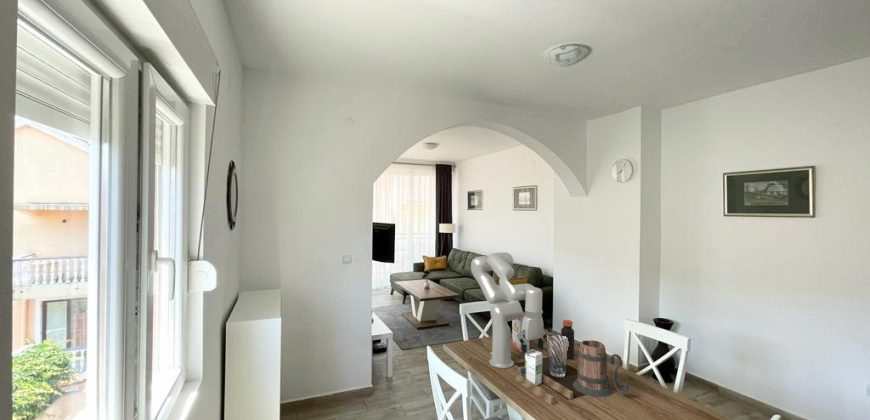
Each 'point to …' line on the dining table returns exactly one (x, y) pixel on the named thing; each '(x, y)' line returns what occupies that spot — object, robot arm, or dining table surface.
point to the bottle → (569, 334)
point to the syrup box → (533, 366)
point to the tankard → (596, 370)
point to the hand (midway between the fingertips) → (532, 350)
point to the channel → (540, 392)
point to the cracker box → (516, 330)
